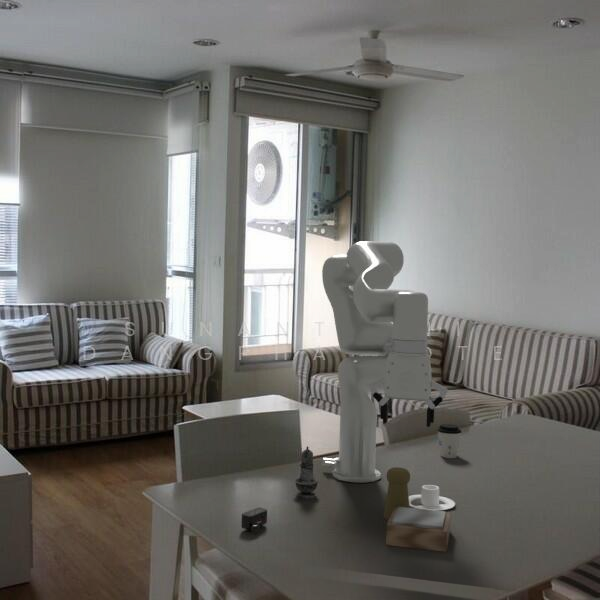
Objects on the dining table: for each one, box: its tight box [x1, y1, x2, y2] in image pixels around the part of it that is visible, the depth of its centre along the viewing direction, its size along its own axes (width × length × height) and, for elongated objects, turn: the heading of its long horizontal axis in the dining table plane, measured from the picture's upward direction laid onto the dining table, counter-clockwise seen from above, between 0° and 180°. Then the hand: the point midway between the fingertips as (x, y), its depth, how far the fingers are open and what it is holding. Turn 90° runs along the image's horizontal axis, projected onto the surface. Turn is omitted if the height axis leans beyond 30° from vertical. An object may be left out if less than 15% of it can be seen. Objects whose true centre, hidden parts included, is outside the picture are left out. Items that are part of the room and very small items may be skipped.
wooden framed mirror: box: [385, 507, 452, 553], centre depth 164 cm, size 12×12×5 cm
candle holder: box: [408, 484, 456, 511], centre depth 187 cm, size 12×12×4 cm
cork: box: [383, 466, 411, 521], centre depth 177 cm, size 6×6×11 cm
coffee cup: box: [436, 423, 462, 459], centre depth 229 cm, size 7×7×10 cm
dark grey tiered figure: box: [293, 445, 320, 500], centre depth 191 cm, size 6×6×12 cm
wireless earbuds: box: [240, 507, 268, 533], centre depth 168 cm, size 4×7×3 cm, turn 144°
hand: (406, 424), depth 176 cm, fingers open, 9 cm apart
